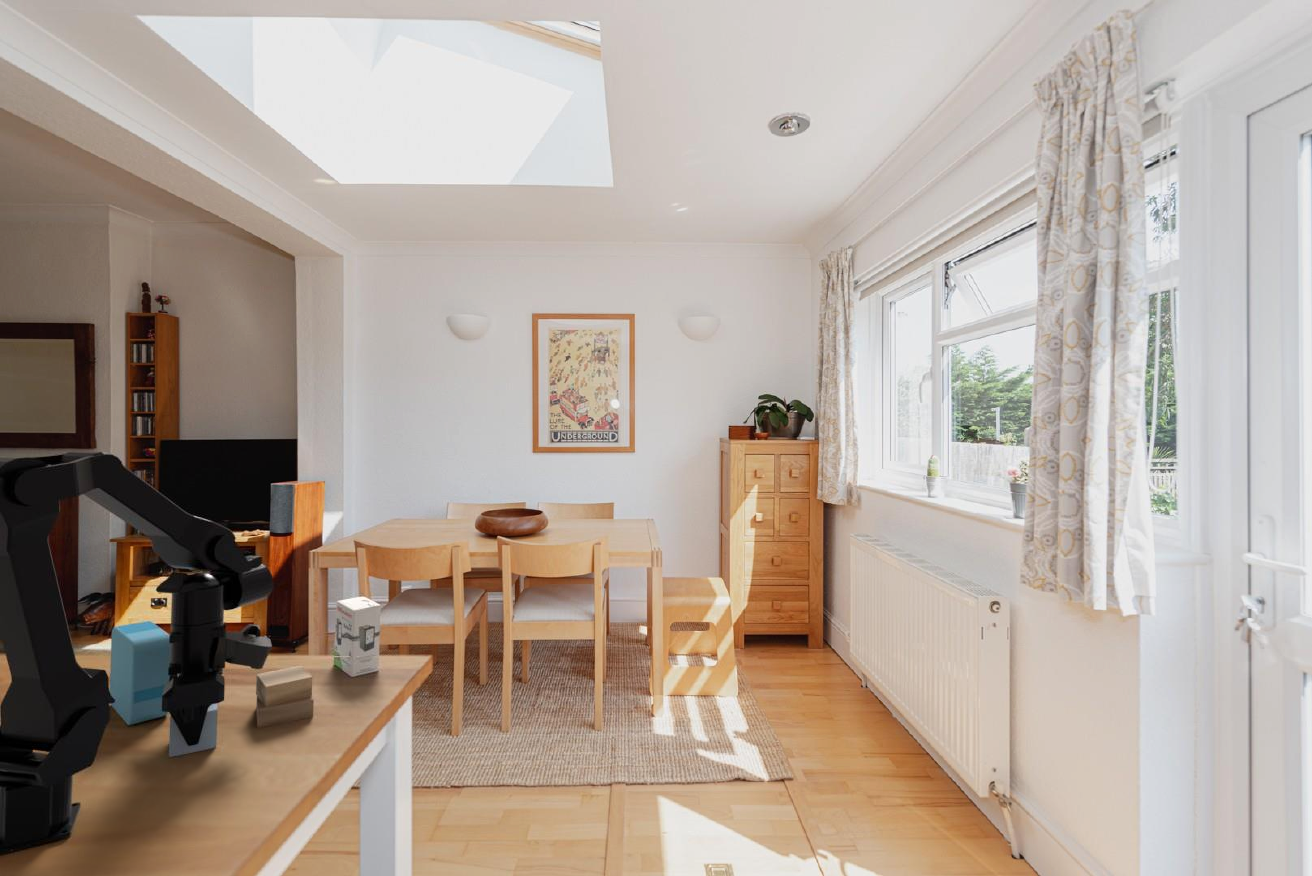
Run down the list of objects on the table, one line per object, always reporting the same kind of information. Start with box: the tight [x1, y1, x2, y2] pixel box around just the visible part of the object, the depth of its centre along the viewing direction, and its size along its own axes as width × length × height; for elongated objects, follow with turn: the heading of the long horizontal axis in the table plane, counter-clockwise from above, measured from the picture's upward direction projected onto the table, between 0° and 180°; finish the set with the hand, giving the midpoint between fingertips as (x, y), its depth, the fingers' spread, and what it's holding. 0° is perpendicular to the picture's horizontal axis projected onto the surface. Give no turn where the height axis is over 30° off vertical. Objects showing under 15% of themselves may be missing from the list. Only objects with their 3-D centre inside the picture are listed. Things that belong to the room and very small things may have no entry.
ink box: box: [333, 596, 382, 678], centre depth 113 cm, size 9×5×12 cm, turn 47°
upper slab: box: [255, 665, 313, 708], centre depth 94 cm, size 6×6×3 cm
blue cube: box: [168, 703, 219, 758], centre depth 84 cm, size 5×5×5 cm
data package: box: [109, 620, 170, 726], centre depth 93 cm, size 12×4×12 cm, turn 52°
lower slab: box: [255, 694, 315, 728], centre depth 94 cm, size 7×7×3 cm
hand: (193, 736), depth 84 cm, fingers closed on blue cube, 5 cm apart
